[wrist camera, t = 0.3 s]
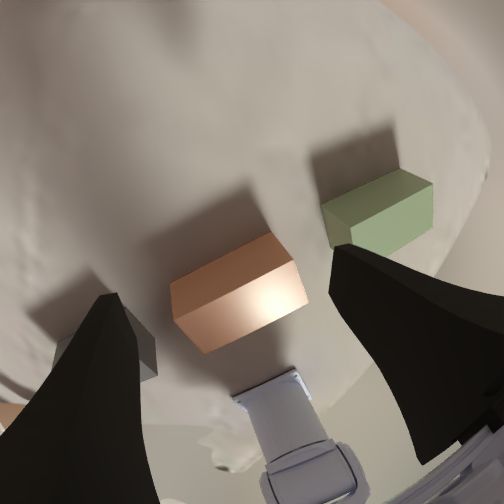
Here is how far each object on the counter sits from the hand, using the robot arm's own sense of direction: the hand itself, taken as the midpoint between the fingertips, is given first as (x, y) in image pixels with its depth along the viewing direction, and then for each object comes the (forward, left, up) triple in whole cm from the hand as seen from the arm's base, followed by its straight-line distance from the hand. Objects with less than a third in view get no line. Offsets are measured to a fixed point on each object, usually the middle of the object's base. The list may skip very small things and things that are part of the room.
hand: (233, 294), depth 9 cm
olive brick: (-7, -11, -10) cm, 17 cm away
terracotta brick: (-7, +1, -10) cm, 12 cm away
